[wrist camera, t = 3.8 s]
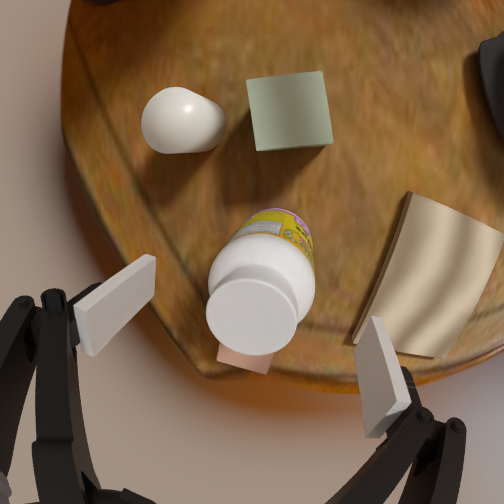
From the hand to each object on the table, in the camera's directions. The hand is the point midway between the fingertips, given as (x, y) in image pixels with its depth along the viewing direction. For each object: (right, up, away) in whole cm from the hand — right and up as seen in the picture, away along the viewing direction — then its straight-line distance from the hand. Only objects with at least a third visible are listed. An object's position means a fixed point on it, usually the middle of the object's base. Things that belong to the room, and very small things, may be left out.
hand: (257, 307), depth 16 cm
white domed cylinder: (-5, +15, +7) cm, 17 cm away
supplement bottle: (+2, +4, +10) cm, 11 cm away
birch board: (+18, 0, +8) cm, 20 cm away
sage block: (+3, +14, +6) cm, 16 cm away
